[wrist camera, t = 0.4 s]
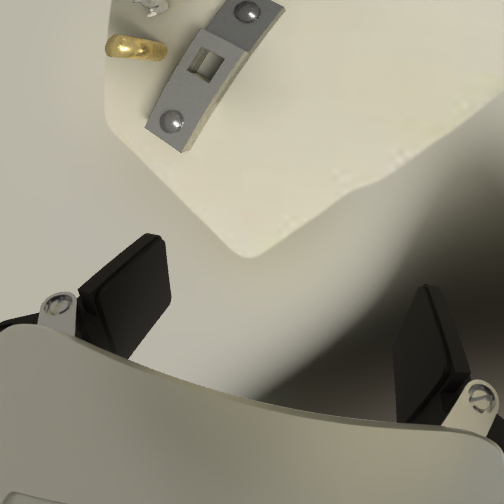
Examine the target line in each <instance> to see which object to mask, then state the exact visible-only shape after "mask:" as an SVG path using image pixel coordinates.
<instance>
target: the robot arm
mask: <svg viewBox="0 0 504 504" xmlns="http://www.w3.org/2000/svg"><path fill="white" fill-rule="evenodd" d="M78 292H79V295H80V296H79V297H78V298H76V297H75V295H74V294H72V293H70V292H59V293H56V294H53V295H51V296H49V297H48V298H47V299H46V300H45V301H44V302H43V303H42V305H41V308H40V313H36V314H31V315H27V316H23V317H18V318H14V319H10V320H6V321H3V322H1V323H0V504H504V419H502V418H501V417H500V416H499V415H498V414H497V411H498V408H499V398H498V395H497V393H496V391H495V390H494V388H493V387H492V386H491V385H490V384H488V383H486V382H485V381H481V380H473V381H471V378H470V373H471V371H470V368H469V364H468V361H467V358H466V355H465V352H464V349H463V346H462V343H461V340H460V337H459V334H458V331H457V329H456V326H455V323H454V320H453V318H452V315H451V313H450V310H449V308H448V305H447V303H446V300H445V298H444V295H443V293H442V291H441V288H440V287H439V286H436V285H430V284H424V285H423V286H422V287H418V289H417V291H416V293H415V296H414V298H413V300H412V303H411V305H410V307H409V310H408V312H407V314H406V316H405V319H404V321H403V323H402V325H401V328H400V330H399V332H398V334H397V336H396V338H395V340H394V342H393V345H392V356H393V367H394V379H395V394H396V414H397V423H393V422H382V421H371V420H363V419H353V418H345V417H338V416H331V415H324V414H318V413H312V412H306V411H300V410H295V409H291V408H285V407H281V406H276V405H271V404H267V403H263V402H258V401H254V400H250V399H246V398H242V397H238V396H234V395H231V394H227V393H224V392H220V391H217V390H213V389H210V388H206V387H203V386H200V385H197V384H193V383H190V382H187V381H184V380H181V379H178V378H176V377H173V376H170V375H167V374H164V373H161V372H159V371H156V370H153V369H150V368H148V367H145V366H142V365H140V364H138V363H135V362H133V361H130V360H128V359H129V357H130V356H131V355H132V353H133V351H135V349H136V348H137V346H138V345H139V344H140V343H141V341H142V340H143V339H144V337H145V336H146V335H147V333H148V332H149V331H150V330H151V328H152V327H153V326H154V324H155V323H156V321H157V320H158V319H159V318H160V316H161V315H162V314H163V313H164V311H165V310H166V308H167V307H168V306H169V305H170V302H171V290H170V282H169V274H168V265H167V256H166V246H165V242H164V240H162V238H161V237H160V236H159V235H154V234H149V233H146V234H144V235H143V236H141V237H140V238H139V239H138V240H136V241H135V242H134V243H133V244H131V245H130V246H129V247H127V248H126V249H125V250H124V251H123V252H122V253H120V254H119V255H118V256H116V257H115V258H114V259H113V260H112V261H110V262H109V263H108V264H107V265H105V266H104V267H103V268H102V269H101V270H99V271H98V272H97V273H96V274H95V275H94V276H92V277H91V278H90V279H89V280H88V281H87V282H85V283H84V284H83V285H82V286H81V287H80V288H79V289H78Z"/></svg>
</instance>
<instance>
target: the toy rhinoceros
mask: <svg viewBox="0 0 504 504" xmlns="http://www.w3.org/2000/svg"><path fill="white" fill-rule="evenodd" d="M136 2H140V3H141V4H142V5H143V6H145V7H149V9H150V11H151V13H150V14H149V15H147V16H148V17H152V16H155V15H156V14H161V13H163V12H165V11H166V10H167V9H168V6H169V3H168V1H167V0H133V3H136Z"/></svg>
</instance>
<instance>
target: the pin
mask: <svg viewBox="0 0 504 504" xmlns="http://www.w3.org/2000/svg"><path fill="white" fill-rule="evenodd" d="M105 52H106V54H107V55H108V56H110V57H121V58H133V59H142V60H151V61H160V60H162V59H163V58H164V57H165V56H166V53H167V47H166V45H165V44H163V43H159V42H155V41H150V40H146V39H141V38H136V37H130V36H125V35H119V34H116V35H113V36H111V37H110V38H109V39H108V41H107V43H106V46H105Z"/></svg>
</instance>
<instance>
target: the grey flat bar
mask: <svg viewBox="0 0 504 504" xmlns="http://www.w3.org/2000/svg"><path fill="white" fill-rule="evenodd" d="M285 11H286V10H285V8H284V7H283V6H281V5H279V4H277V3H275V2H273V1H271V0H227V1H226V3H225V4H224V5H223V7H222V8H221V9H220V11H219V12H218V13H217V15H216V16H215V18H214V19H213V20H212V22H211V23H210V25H209V26H208V27H207V29H206V30H204V29H200V31H199V32H198V34H197V35H196V37H195V38H194V40H193V41H192V43H191V44H190V46H189V47H188V49H187V51H186V52H185V54H184V55H183V57H182V59H181V60H180V62H179V64H178V65H177V67H176V69H175V71H174V72H173V74H172V76H171V78H170V79H169V81H168V83H167V85H166V87H165V88H164V90H163V92H162V94H161V96H160V98H159V100H158V101H157V103H156V105H155V107H154V109H153V111H152V113H151V115H150V117H149V119H148V121H147V123H146V126H145V128H146V129H147V130H149V131H150V132H152V133H153V134H155V135H156V136H157V137H159V138H160V139H162V140H163V141H165V142H166V143H168V144H169V145H170V146H172V147H173V148H175V149H176V150H178V151H179V152H180V153H182V152H185V151H188V150H190V149H191V148H192V146H193V144H194V142H195V141H196V139H197V137H198V136H199V134H200V132H201V131H202V129H203V127H204V126H205V124H206V122H207V121H208V119H209V117H210V116H211V114H212V113H213V111H214V109H215V108H216V106H217V105H218V103H219V101H220V100H221V98H222V97H223V95H224V94H225V92H226V91H227V89H228V88H229V86H230V85H231V83H232V82H233V80H234V79H235V77H236V76H237V74H238V73H239V71H240V70H241V69H242V67H243V66H244V64H245V63H246V61H247V60H248V59H249V57H250V56H251V55H252V53H253V52H254V50H255V49H256V48H257V46H258V45H259V44H260V42H261V41H262V40H263V38H264V37H265V36H266V34H267V33H268V32H269V31H270V29H271V28H272V27H273V25H274V24H275V23H276V22H277V20H278V19H279V18H280V17H281V15H282V14H283V13H284V12H285ZM209 51H211V52H213V53H215V54H217V55H218V56H220V57H222V58H224V59H225V60H224V61H223V63H222V64H221V66H220V67H219V69H218V70H217V72H216V73H215V75H214V76H213V78H212V80H209V79H207V78H205V77H204V76H202V75H200V74H198V73H197V72H196V71H197V69H198V68H199V66H200V65H201V63H202V61H203V60H204V58H205V57H206V55H207V54H208V52H209Z"/></svg>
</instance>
